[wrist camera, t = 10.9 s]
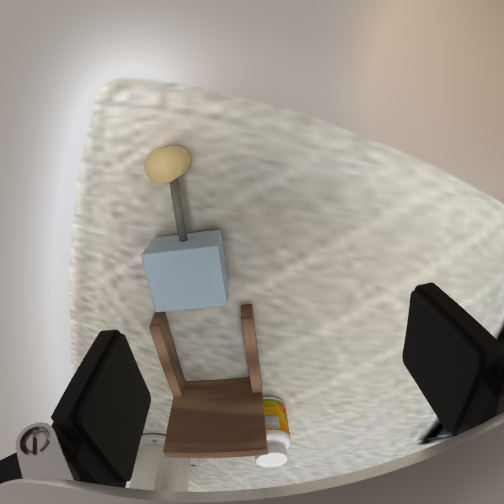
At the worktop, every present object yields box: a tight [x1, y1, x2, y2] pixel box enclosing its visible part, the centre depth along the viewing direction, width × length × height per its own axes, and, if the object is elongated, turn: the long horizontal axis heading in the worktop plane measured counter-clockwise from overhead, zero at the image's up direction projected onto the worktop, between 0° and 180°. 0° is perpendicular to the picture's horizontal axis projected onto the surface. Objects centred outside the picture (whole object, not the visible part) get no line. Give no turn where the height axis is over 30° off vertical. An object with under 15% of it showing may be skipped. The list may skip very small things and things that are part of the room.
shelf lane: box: [149, 304, 268, 458], centre depth 32 cm, size 12×11×12 cm
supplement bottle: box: [256, 397, 291, 467], centre depth 37 cm, size 5×5×10 cm
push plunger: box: [142, 145, 229, 312], centre depth 29 cm, size 15×7×6 cm, turn 6°
